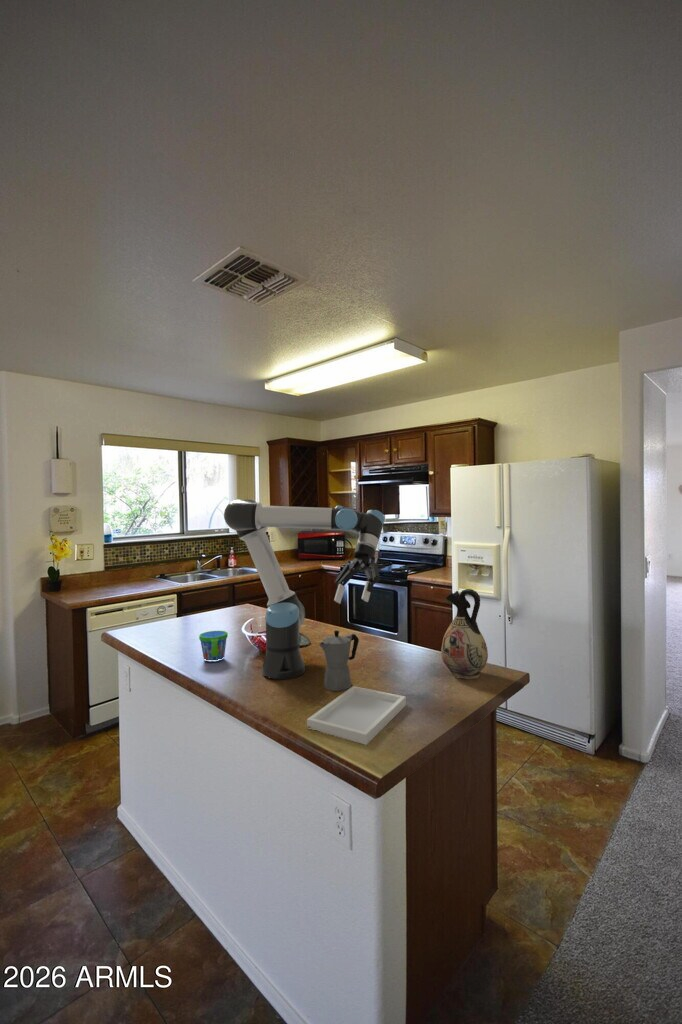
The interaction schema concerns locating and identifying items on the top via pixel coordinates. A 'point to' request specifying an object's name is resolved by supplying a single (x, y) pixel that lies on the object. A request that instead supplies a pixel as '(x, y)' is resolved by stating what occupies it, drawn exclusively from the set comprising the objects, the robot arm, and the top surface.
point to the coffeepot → (338, 660)
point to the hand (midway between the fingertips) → (350, 601)
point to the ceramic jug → (464, 639)
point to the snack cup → (213, 644)
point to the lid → (303, 640)
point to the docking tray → (357, 714)
